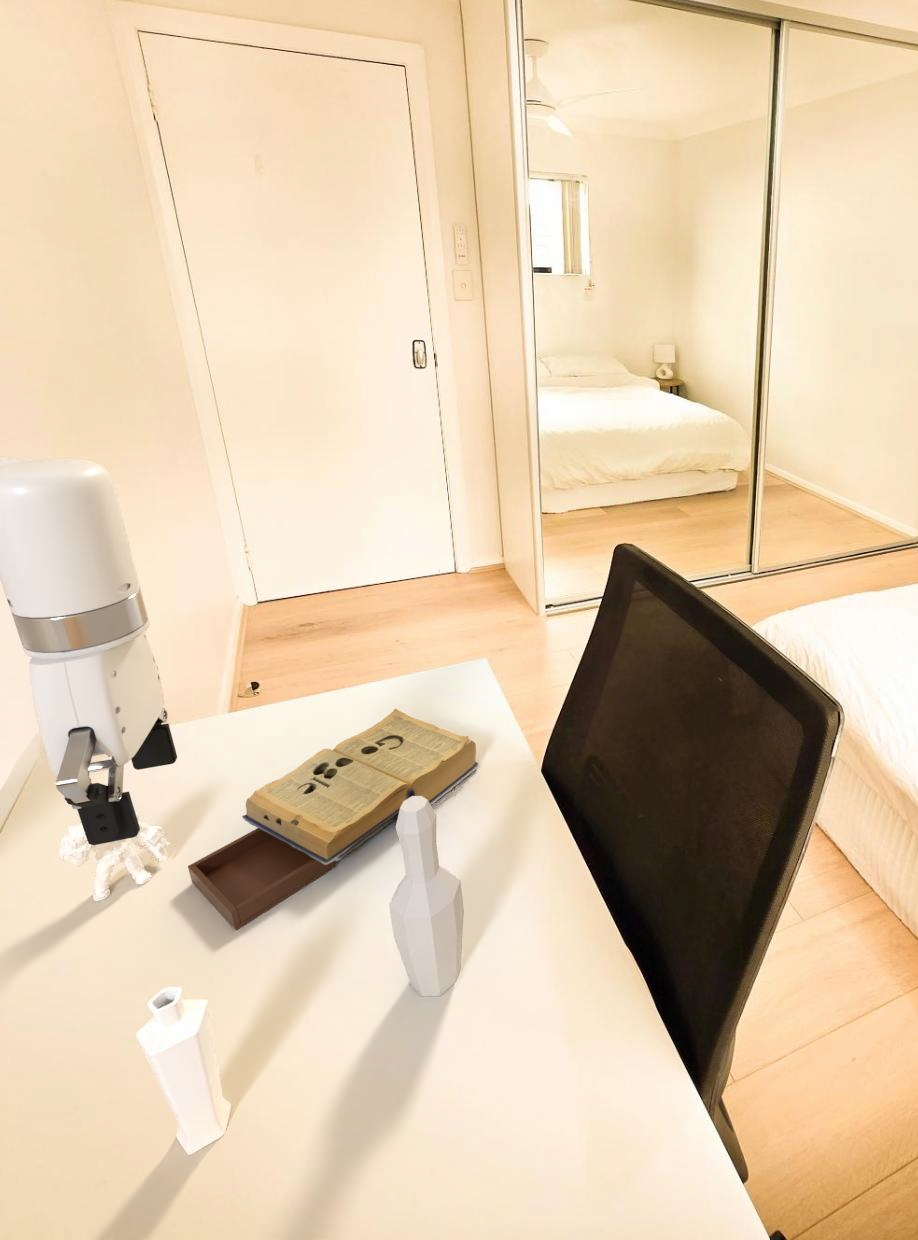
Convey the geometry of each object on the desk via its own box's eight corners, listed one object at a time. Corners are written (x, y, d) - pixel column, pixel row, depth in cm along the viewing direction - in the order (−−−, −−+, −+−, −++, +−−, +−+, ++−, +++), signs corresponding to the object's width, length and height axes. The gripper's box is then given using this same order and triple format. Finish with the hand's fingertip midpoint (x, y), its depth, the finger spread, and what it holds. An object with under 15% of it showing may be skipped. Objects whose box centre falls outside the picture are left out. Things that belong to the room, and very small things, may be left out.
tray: (235, 931, 76) (231, 913, 75) (192, 883, 82) (187, 866, 81) (335, 867, 85) (332, 850, 84) (289, 828, 91) (285, 812, 90)
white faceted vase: (179, 1109, 59) (138, 982, 54) (239, 1090, 61) (203, 965, 56) (162, 1168, 55) (115, 1037, 50) (225, 1147, 57) (186, 1017, 52)
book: (401, 735, 110) (397, 703, 108) (480, 767, 103) (477, 733, 101) (244, 835, 89) (236, 797, 87) (330, 883, 82) (323, 843, 80)
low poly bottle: (480, 958, 74) (463, 789, 67) (443, 1013, 68) (420, 835, 61) (429, 942, 75) (408, 775, 68) (389, 994, 70) (361, 819, 62)
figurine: (101, 924, 76) (72, 838, 72) (60, 919, 77) (29, 833, 73) (178, 855, 86) (156, 775, 82) (141, 850, 86) (117, 771, 82)
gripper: (73, 583, 60) (122, 749, 65) (-44, 682, 45) (32, 887, 50) (176, 574, 62) (214, 734, 68) (99, 664, 47) (156, 861, 53)
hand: (137, 799), depth 59 cm, fingers open, 9 cm apart
